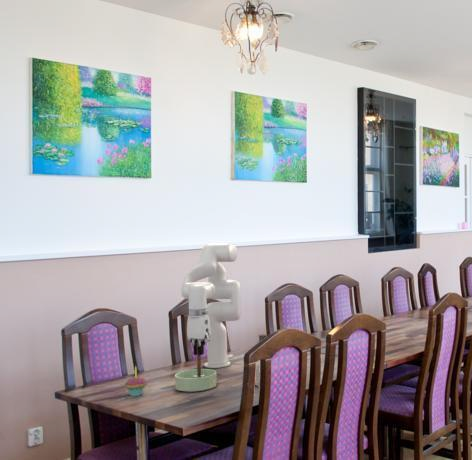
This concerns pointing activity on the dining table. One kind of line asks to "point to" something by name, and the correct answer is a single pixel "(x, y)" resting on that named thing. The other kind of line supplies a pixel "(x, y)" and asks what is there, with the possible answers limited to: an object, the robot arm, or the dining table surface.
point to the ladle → (198, 365)
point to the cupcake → (135, 385)
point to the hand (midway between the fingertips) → (198, 354)
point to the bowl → (195, 380)
